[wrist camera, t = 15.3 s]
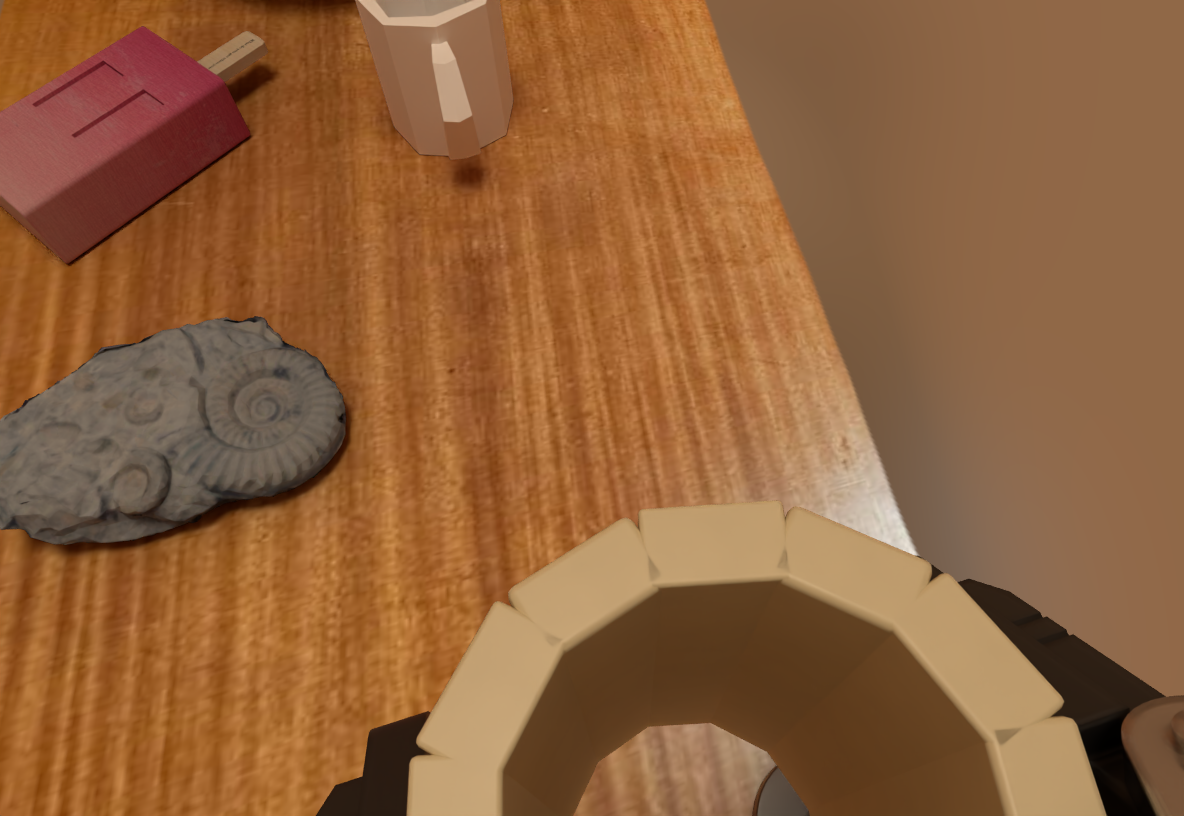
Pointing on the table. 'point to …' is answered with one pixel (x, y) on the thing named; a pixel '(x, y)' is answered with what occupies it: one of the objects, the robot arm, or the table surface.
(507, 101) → the mug
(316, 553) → the table surface
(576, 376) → the table surface
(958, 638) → the faceted pencil cup
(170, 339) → the fossil
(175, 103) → the popsicle
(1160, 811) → the robot arm
